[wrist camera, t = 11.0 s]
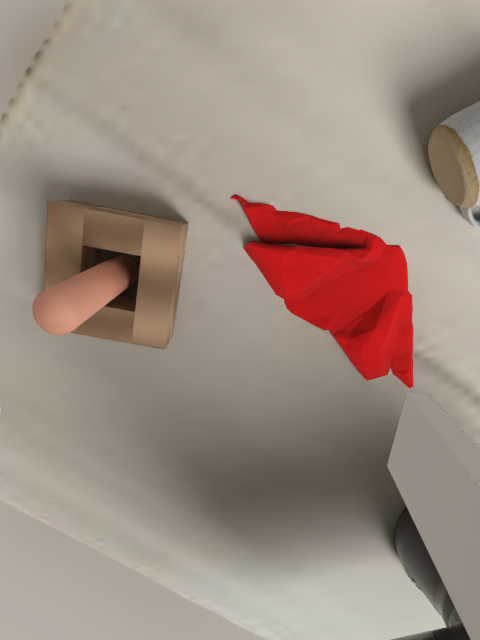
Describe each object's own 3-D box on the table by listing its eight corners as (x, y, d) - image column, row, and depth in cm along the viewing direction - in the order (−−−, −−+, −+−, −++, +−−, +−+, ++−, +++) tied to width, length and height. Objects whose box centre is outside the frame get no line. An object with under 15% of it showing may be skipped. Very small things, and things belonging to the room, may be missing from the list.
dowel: (137, 288, 40) (78, 338, 27) (106, 282, 40) (31, 330, 27) (140, 257, 39) (81, 293, 26) (108, 252, 39) (33, 285, 26)
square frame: (173, 334, 41) (164, 349, 38) (62, 314, 41) (43, 327, 37) (188, 222, 38) (181, 226, 34) (68, 200, 38) (47, 202, 34)
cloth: (461, 361, 42) (472, 371, 40) (339, 424, 44) (343, 436, 42) (336, 123, 36) (341, 118, 34) (203, 211, 38) (200, 212, 36)
